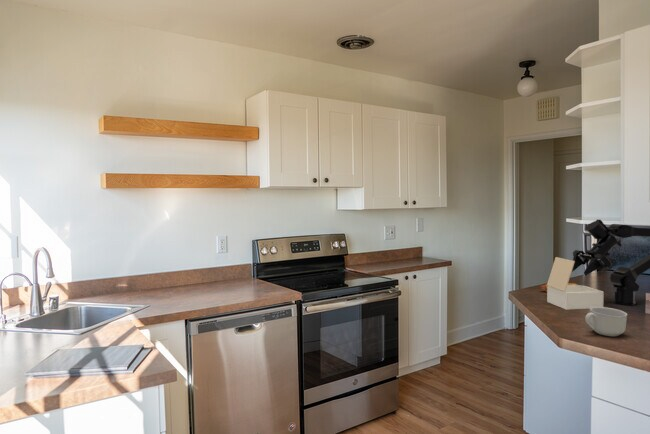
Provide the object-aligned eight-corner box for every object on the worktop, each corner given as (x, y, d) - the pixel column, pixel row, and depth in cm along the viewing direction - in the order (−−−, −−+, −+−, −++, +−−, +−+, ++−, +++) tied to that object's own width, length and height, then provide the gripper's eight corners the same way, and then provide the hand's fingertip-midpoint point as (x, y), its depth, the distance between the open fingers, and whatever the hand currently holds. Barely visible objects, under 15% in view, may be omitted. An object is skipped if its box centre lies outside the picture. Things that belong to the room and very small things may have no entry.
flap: (556, 257, 199) (555, 256, 198) (574, 261, 186) (573, 260, 186) (547, 285, 199) (546, 284, 199) (565, 291, 186) (564, 290, 186)
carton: (582, 300, 201) (582, 285, 201) (604, 308, 186) (604, 291, 186) (546, 301, 200) (546, 286, 200) (566, 309, 185) (566, 292, 185)
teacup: (612, 328, 158) (612, 306, 158) (634, 338, 147) (635, 314, 147) (573, 329, 157) (573, 307, 157) (593, 339, 147) (593, 315, 146)
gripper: (631, 262, 184) (605, 290, 184) (600, 257, 203) (576, 281, 203) (613, 243, 183) (587, 271, 183) (584, 239, 202) (560, 264, 202)
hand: (577, 272), depth 193 cm, fingers open, 9 cm apart
